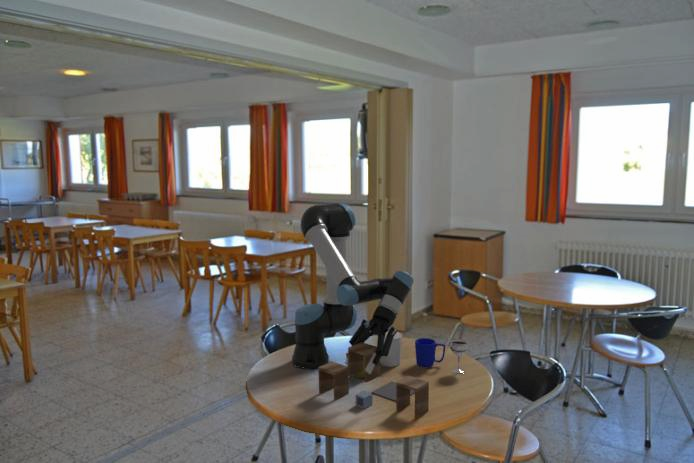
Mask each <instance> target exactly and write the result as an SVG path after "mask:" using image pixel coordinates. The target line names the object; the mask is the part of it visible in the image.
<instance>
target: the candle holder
mask: <svg viewBox="0 0 694 463" xmlns="http://www.w3.org/2000/svg"><path fill="white" fill-rule="evenodd" d="M387 334H388V332H386V333H385V339H384V343H385V340H386V336H387ZM402 341H403V334H402V333H401V332H398V331H397V333H396V334H395V336H394V337H393V341H392V344H391V347H390V350H389V353H388V356H387V357H385V356H382V357H381V358H380V366H383V367H388V368H390V367H393V368H394V367H397V366H399V365H400V364H401V356H402Z"/></svg>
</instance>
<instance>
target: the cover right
mask: <svg viewBox="0 0 694 463" xmlns="http://www.w3.org/2000/svg"><path fill="white" fill-rule="evenodd" d="M395 383H396V401H395V402H396V403H395V404H396V407H395V408H396V412H400V411H402V410H404V409H405V408H407V407H408V406H410V405H411V396H410V390H413V391H415V393H414V418H415V419H418V418H420V417H421V416H422V415H424V414H426V413H428V412H429V411H430V410H429V403H430V402H429V401H430V399H429V394H430V393H429V391H430V390H429V389H430V388H429V386H430V384H429V383H430V382H429V381H427V380H424V379H421V378H418V377H414V376H411V375H406V377H403V378H402V379H399V380H398V381H396V382H395Z"/></svg>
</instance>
